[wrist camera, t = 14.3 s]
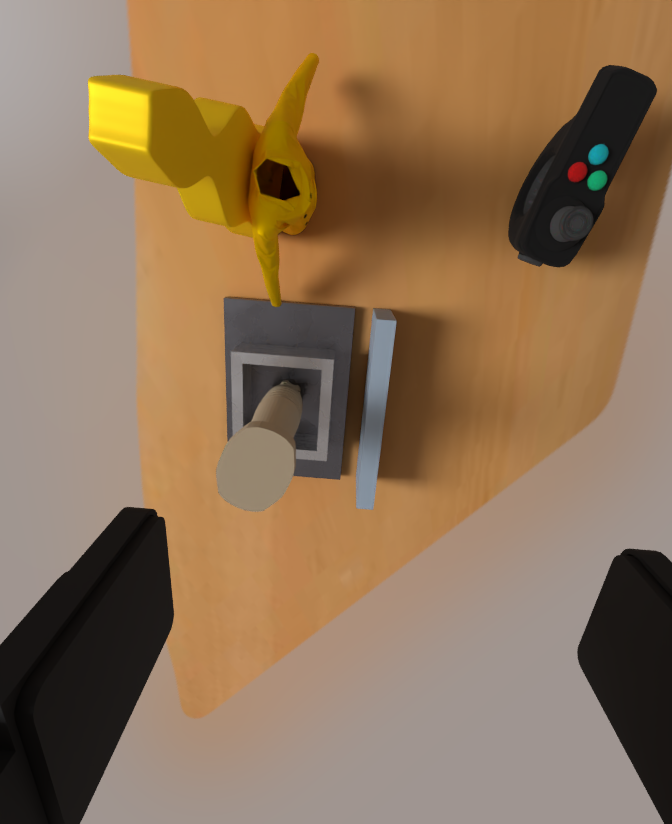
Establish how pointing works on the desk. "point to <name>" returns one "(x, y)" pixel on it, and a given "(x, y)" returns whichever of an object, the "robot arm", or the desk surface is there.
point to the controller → (578, 169)
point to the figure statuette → (212, 155)
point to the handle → (262, 452)
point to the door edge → (374, 405)
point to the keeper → (292, 371)
